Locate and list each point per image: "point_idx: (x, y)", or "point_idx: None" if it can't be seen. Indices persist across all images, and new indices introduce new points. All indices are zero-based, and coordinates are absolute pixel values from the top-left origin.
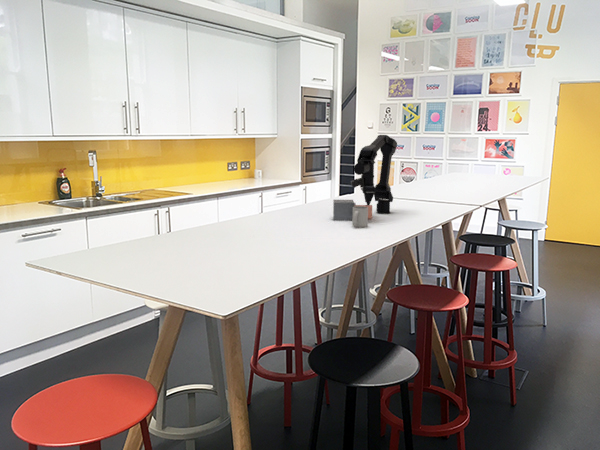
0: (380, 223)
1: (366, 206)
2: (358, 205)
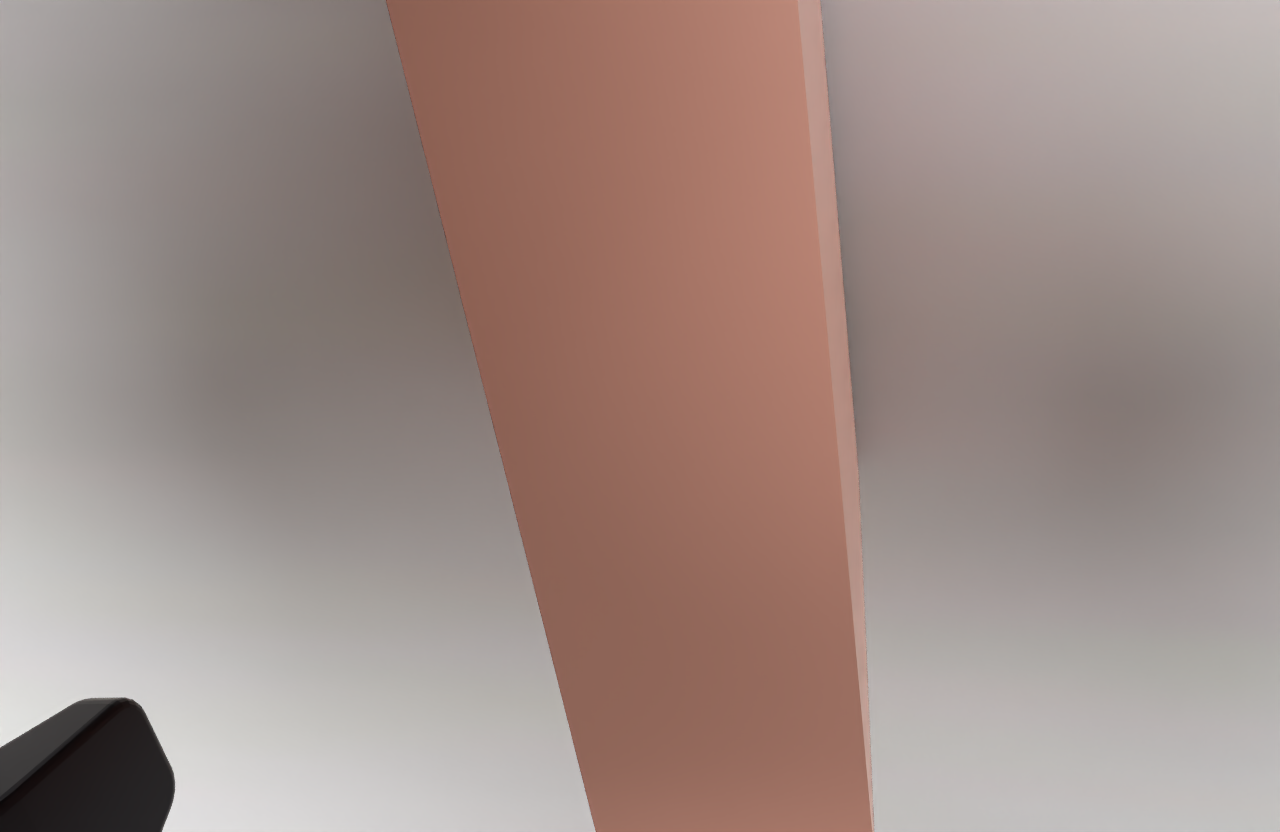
0: (106, 655)
1: (551, 584)
2: (554, 80)
